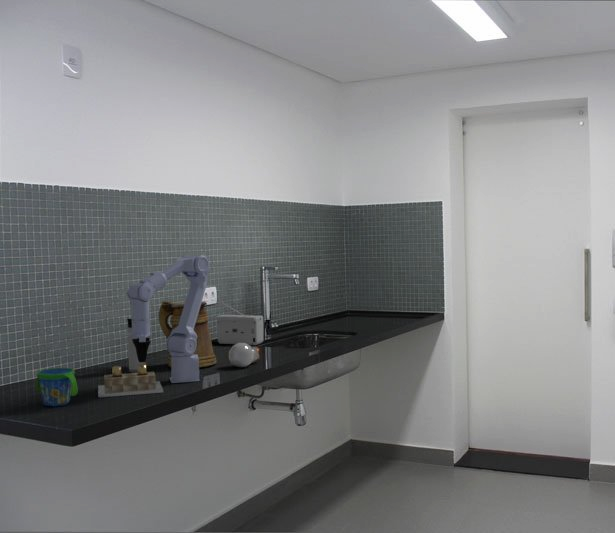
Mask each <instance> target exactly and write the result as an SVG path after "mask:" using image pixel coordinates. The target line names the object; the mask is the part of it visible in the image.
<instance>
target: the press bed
mask: <svg viewBox="0 0 615 533" xmlns="http://www.w3.org/2000/svg"><path fill="white" fill-rule="evenodd" d="M97 387H98V388H97V395H98V398H109V397H121V396H122V397H123V396H134V395H149V394H159V393H164V389H163V386H162V384H161V382H160V381H159V380H158V381H156V388H145V389H132V390H119V391H106V392H105V384H102V385H99V384H98V386H97Z"/></svg>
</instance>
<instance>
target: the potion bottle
mask: <svg viewBox="0 0 615 533" xmlns="http://www.w3.org/2000/svg"><path fill="white" fill-rule="evenodd" d="M261 358H262V354H261V351H260V347H258V346H252V345H248V344H246V343H237V344H233V345H232V347H231V348H230V349H229V351H228V359H229V362H230V363H231V365H233V366H234V367H236V368H243V367H244V368H246V367H247V366H249V365H250V364H251V365H252V364H253V363H255V362H257V361H259V360H260V359H261Z"/></svg>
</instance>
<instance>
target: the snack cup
mask: <svg viewBox="0 0 615 533" xmlns="http://www.w3.org/2000/svg"><path fill="white" fill-rule="evenodd" d="M75 372H76V371H75V369H73V368H70V367H56V368H55V367H54V368H53V367H52V368H45V369H41V370H40V371H37V374H36V376H37V377H36V381H35V390H36V391H37V392H41V397H42V402H43V403H42V404H43V405H44V406H48V407H62V406H63V407H64V406H67V405H68V404H69V403H70V401H71V397H74V396H76V395H77V394H78V391H79V387H78V384H77V379H76V377H75V375H76V374H75Z"/></svg>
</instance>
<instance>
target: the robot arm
mask: <svg viewBox="0 0 615 533" xmlns="http://www.w3.org/2000/svg"><path fill="white" fill-rule="evenodd" d="M210 268H211V264H210V262H209V260H208V258H207V256H205V255H203V254H201V255H186V254H184V255H182V256H180V257H177V258H176V261H174V262H173V263H172V264H170V265H169V266H167V267H166V268H164V270H162V271H161V272H160V271H151V272H150V273H149V275H148V276H147V277H145V278H141V279H140V281H139V282H137V283H136V282H134V283H132V284H131V285H130V286H129V287H128V289H127V291H126V296H127V298H128V299H129V302H130V303H129V304H130V306H131V312H130V313H131V319H132V333H129V334H128V333H127V337H128V336H133V337H136V338H137V339H132V341H133V344H134V345H135V348H136V352H137V357H138V361H139V362H146V363H147V356H148V351H149V347H150V345H151V342H152V341H151V340H150V336H151V328H150V327H151V326H150V325H151V322H150V321H151V320H150V301H151V299H152V297H153V296H154V294H155V293H157V292H158V291H160V290H161V289H163V288H164V287H165V286H166V285H167V281H168V280H170V279H172V278H174V277H175V276H177V275H179V274H180V273H182V274H183V275H184V276H185V278H186V279H187V281H189V283H190V285H189V289H188V292H187V296H186V298H185V302H184V303H185V305H184V308H183V311H182V315H181V318H180V321H179V325H178V326H177V327H176V328H175V329H173V330H172V332H171V335H170V336H169V337H168V339H167V338H166V342H165V348H166V350H167V352H169V355H171V367H170V369H171V371H170V372H171V377H169V380H170V382H171V384H179V383H192V382H200V367H199V359H198V355H197V354H194V355H193V353H194V352H195V350H196V347H197V343H196V341H197V334H196V333H195V332H194V326H195V323H196V320H197V316H198V313H199V309H200V306H201V303H202V302H203V298H204V296H205V292H206V288H207V286H208V274H209V271H210Z"/></svg>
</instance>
